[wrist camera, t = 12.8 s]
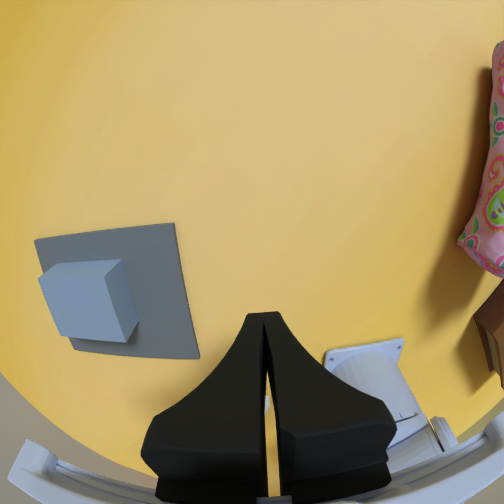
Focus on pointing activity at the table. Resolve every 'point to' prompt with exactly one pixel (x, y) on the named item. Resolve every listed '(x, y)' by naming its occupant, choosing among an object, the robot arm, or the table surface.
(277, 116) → the table surface
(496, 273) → the pencil case
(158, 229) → the mat
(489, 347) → the diary
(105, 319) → the block
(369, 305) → the table surface
